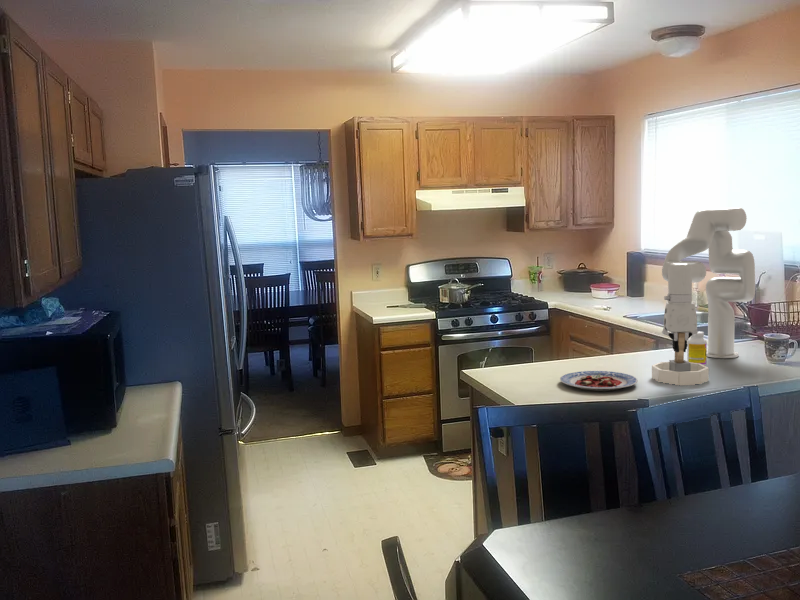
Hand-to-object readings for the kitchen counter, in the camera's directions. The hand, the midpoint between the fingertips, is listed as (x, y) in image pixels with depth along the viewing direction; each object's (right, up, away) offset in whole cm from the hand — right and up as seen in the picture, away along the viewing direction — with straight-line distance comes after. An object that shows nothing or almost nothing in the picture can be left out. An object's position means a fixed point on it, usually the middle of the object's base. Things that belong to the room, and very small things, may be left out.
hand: (679, 351), depth 234 cm
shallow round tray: (0, -10, +1) cm, 10 cm away
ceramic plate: (-29, -12, -1) cm, 31 cm away
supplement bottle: (+15, -7, +21) cm, 27 cm away
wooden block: (0, -5, +1) cm, 5 cm away
